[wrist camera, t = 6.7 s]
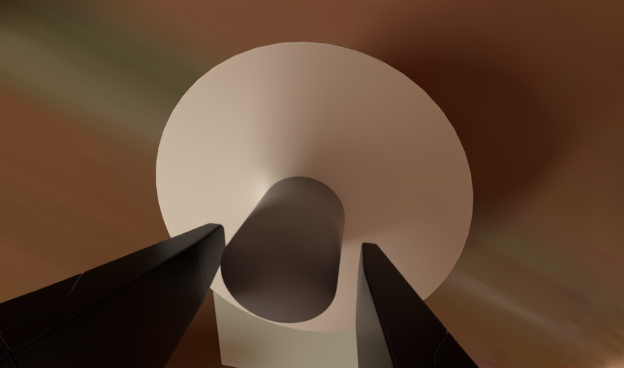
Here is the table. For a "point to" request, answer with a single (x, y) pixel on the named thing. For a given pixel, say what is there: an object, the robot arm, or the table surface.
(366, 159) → the lid
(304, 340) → the mat
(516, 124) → the table surface
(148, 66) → the table surface
